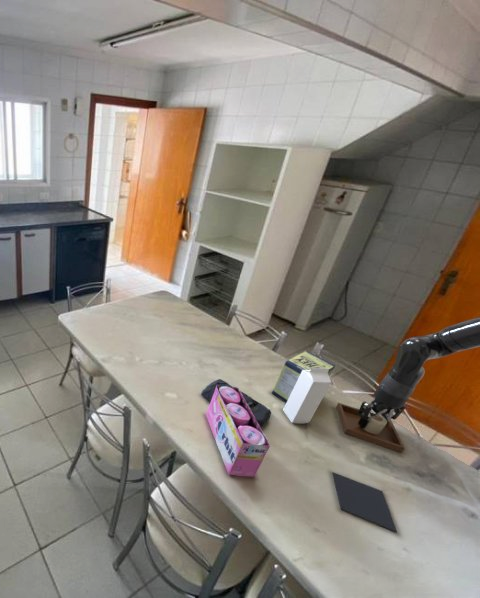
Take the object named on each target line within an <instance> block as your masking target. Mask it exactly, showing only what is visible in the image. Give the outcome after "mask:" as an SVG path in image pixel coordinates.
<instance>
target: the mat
mask: <svg viewBox="0 0 480 598" xmlns="http://www.w3.org/2000/svg"><path fill="white" fill-rule="evenodd" d="M331 474H332V477H333V482H334V486H335V490H336V494H337V495H336V496H337V498H338V503H339V507H340V510H341V511H343V512H346V513H348V514H351V515H353V516H355V517H358V518H360V519H363V520H365V521H368V522H369V523H372V524H374V525H377V526H379V527H382V528H384V529H387V530H388V531H389V530H390V531H391V532H394V533H397V532H398V530H397V527H396V524H395V523H394V520H393V517H392V514H391V512H390V509H389V505H388V502H387V500H386V497H385V495H384V493H383V491H382V490H380V489H378V488H375V487H372V486H370V485H367V484H365V483H362V482H360V481H357V480H354V479H352V478H349V477H346V476H343V475H341V474H339V473H336V472H332V473H331Z"/></svg>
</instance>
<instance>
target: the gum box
mask: <svg viewBox="0 0 480 598" xmlns="http://www.w3.org/2000/svg"><path fill="white" fill-rule="evenodd" d="M232 387H233V388H230V387H227V386H225V387H220V388H219V385H218V386H216V389H215V392H214V394H213V397H212V400H211V402H210V403H209V406H208V408H207V411H206V414H205V416H206V419H207V421H208V425H209V428H210V429H211V432H212V435H213V438H214V440H215V443H216V446H217V448H218V451H219V453H220V456H221V460H222V461H223V464H224V466H225V470H226V472H227V474H228V475H229V476H238V477H251V478H255V477H256V475H257V473H258V471H259V469H260V466H261V465H262V463H263V462H264V459H265V457H266V455H267V454H268V452H269V449H270V447H271V443H269V440H268V438H267V436H266V435H265V433H264V431H263V430H262V428H261V426H259V424H258V423H257V421H256V419H255V417H254V415H253V413H252V412H251V410H250V408H249V406H248V405H247V403H246V401H245V399H244V397H243V395H242V394H241V392H242V391H241V390H240V389H239V387H237V386H232ZM240 391H241V392H240Z"/></svg>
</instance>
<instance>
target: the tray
mask: <svg viewBox="0 0 480 598" xmlns="http://www.w3.org/2000/svg"><path fill="white" fill-rule="evenodd" d="M335 408H336V412H337V415H338V419H339V422H340V426H341V428H342V432H343V434H345V435H347V436H351V437H353V438H357V439H359V440H362V441H364V442H368V443H371V444H373V445H377V446H380V447H383V448H385V449H388V450H391V451H394V452H397V453H400V454H402V453H403V452H404V450H405V449H406V448H405V445H404V443H403V441H402V439H401V437H400V435H399V433H398V431H397V429H396V427H395V425H394V423H393V420H392V419H391V420H390V421H387V424H386V425H385V426H384V428H383V429H382V431H381V432H380V433H379V434H372V433H369V432H367V431H365V430H364V429H363V428H361V427H360V426H359V425H358V422H359V420H360V419H361V417H360V416H359V415H358V414H357V413H358V411H359V409H360V408H356V407H355V406H350V405H348V404H344V403H341V402H337V405H336V406H335Z"/></svg>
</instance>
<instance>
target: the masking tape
mask: <svg viewBox="0 0 480 598" xmlns="http://www.w3.org/2000/svg"><path fill="white" fill-rule="evenodd" d="M372 412H373V413H374V414H375V412H374V411H373V410H372ZM370 415H371V414H370V413H369V415H368V417H369V416H370ZM386 424H387V420H386V419H385V418H384V417H383V416H382V415H379V416H378V417H377V418H375V417H374V418H373V419H371V420H370V422H369V423H368V425H367V426H366V428H363V429H364V430H365V431H367V432H369V433H372V434H379V433H380V432H381V431H382V429H383V428H384V426H385V425H386Z"/></svg>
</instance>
